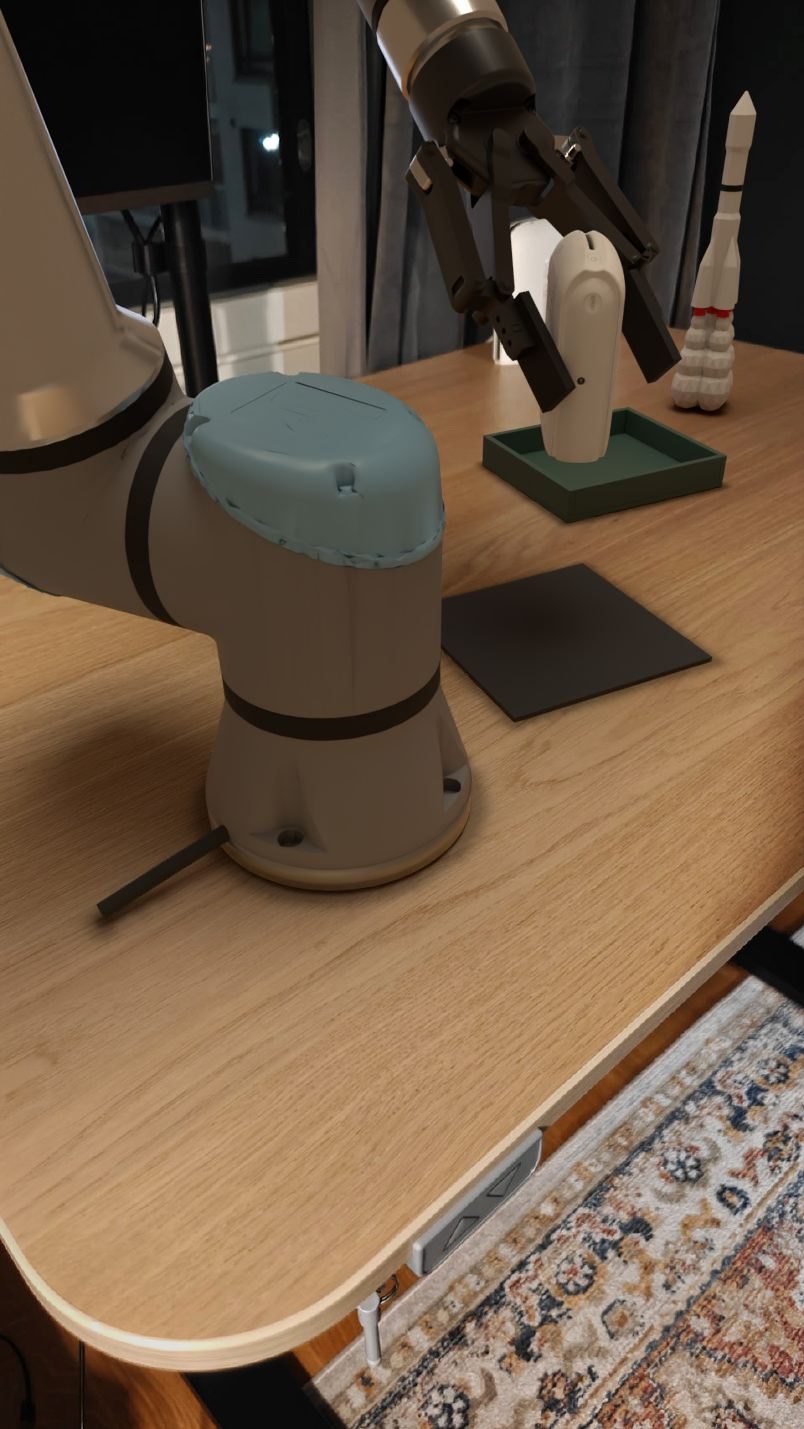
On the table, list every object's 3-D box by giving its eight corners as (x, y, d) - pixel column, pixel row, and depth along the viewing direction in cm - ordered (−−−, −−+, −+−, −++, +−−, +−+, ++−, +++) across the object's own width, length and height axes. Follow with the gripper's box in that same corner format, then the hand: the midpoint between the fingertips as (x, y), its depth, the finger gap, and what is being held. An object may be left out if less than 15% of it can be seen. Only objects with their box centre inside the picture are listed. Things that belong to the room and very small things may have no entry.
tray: (567, 523, 89) (569, 491, 88) (481, 464, 101) (482, 435, 99) (722, 486, 95) (727, 455, 94) (625, 434, 106) (628, 406, 105)
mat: (514, 721, 65) (514, 718, 65) (405, 611, 77) (405, 608, 77) (711, 660, 71) (712, 656, 71) (582, 566, 83) (582, 562, 83)
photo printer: (612, 465, 63) (636, 252, 56) (543, 464, 64) (558, 252, 57) (596, 410, 72) (615, 218, 65) (535, 409, 72) (547, 218, 65)
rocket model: (652, 401, 115) (691, 90, 97) (706, 391, 117) (754, 86, 100) (691, 421, 109) (740, 96, 92) (747, 411, 112) (805, 91, 94)
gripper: (551, 104, 73) (690, 384, 71) (295, 127, 63) (451, 453, 61) (612, 15, 66) (767, 321, 65) (338, 25, 56) (514, 387, 55)
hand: (613, 385), depth 63 cm, fingers closed on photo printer, 8 cm apart
